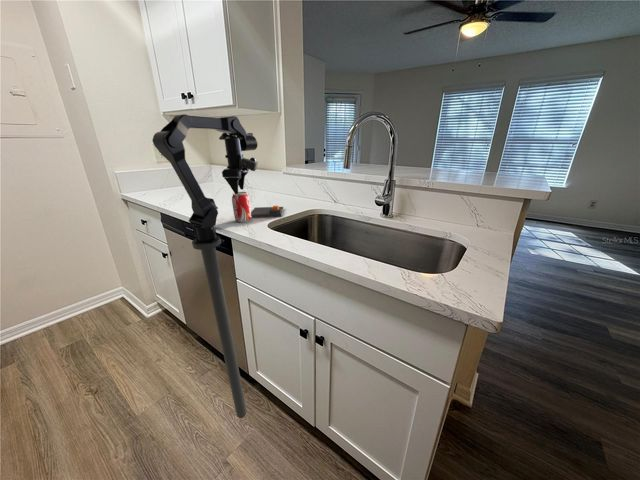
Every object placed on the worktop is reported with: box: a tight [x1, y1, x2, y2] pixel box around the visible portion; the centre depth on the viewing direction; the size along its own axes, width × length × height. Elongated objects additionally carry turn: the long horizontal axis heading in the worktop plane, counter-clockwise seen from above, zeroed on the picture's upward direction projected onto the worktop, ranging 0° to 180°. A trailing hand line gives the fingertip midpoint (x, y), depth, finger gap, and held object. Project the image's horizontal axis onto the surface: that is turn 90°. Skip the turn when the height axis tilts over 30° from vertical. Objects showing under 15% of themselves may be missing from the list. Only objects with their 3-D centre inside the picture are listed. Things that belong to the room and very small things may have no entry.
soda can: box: [231, 191, 252, 223], centre depth 110 cm, size 7×7×12 cm
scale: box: [251, 206, 285, 219], centre depth 121 cm, size 14×12×3 cm
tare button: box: [272, 205, 280, 210], centre depth 117 cm, size 3×3×2 cm
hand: (239, 191), depth 107 cm, fingers open, 9 cm apart
